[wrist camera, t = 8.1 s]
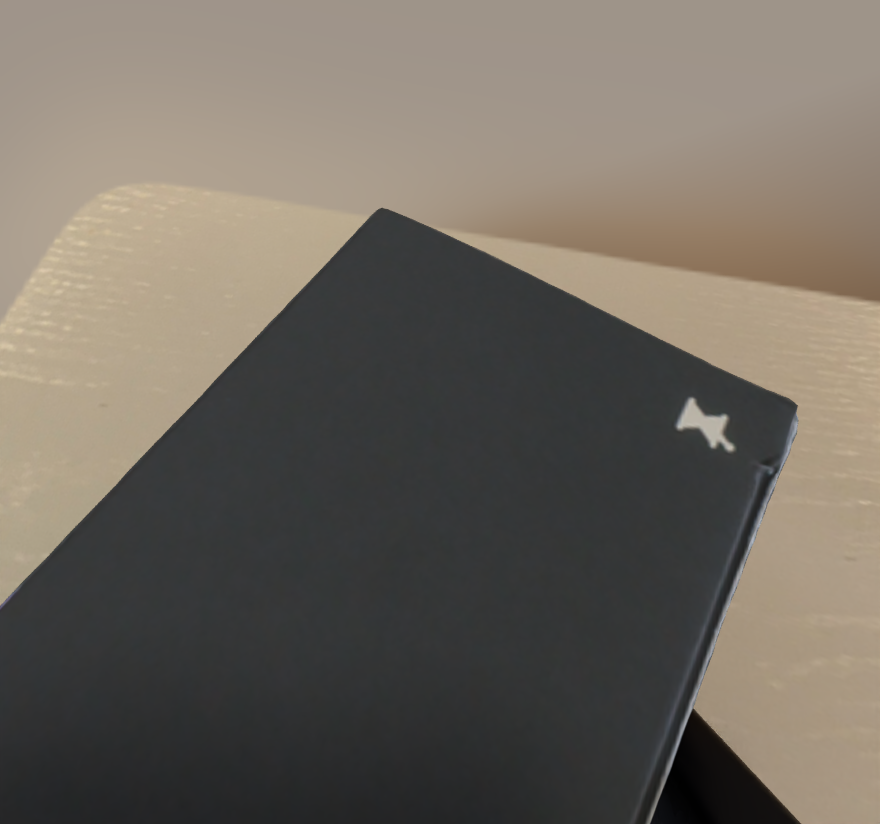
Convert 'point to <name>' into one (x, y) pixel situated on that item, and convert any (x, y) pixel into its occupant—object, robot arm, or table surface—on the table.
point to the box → (397, 567)
